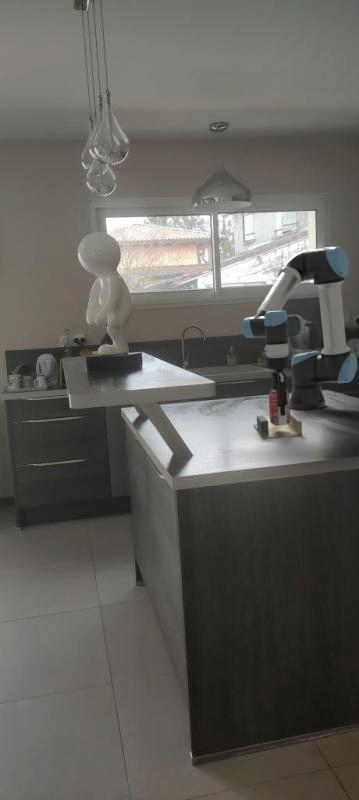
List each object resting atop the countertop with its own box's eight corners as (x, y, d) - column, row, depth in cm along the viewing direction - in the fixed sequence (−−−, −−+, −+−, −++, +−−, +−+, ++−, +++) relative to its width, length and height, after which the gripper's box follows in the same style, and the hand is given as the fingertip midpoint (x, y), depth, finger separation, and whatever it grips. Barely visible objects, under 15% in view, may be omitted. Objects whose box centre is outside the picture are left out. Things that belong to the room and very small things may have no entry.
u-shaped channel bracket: (289, 422, 217) (288, 408, 216) (302, 435, 196) (301, 419, 195) (253, 425, 217) (252, 411, 216) (262, 438, 195) (261, 422, 195)
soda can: (289, 421, 204) (288, 387, 202) (291, 425, 197) (290, 390, 195) (269, 422, 205) (267, 388, 203) (270, 426, 198) (269, 391, 196)
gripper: (261, 355, 207) (265, 417, 211) (271, 359, 187) (275, 429, 191) (282, 353, 207) (285, 416, 211) (294, 358, 187) (297, 427, 191)
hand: (280, 422), depth 201 cm, fingers closed on soda can, 7 cm apart
